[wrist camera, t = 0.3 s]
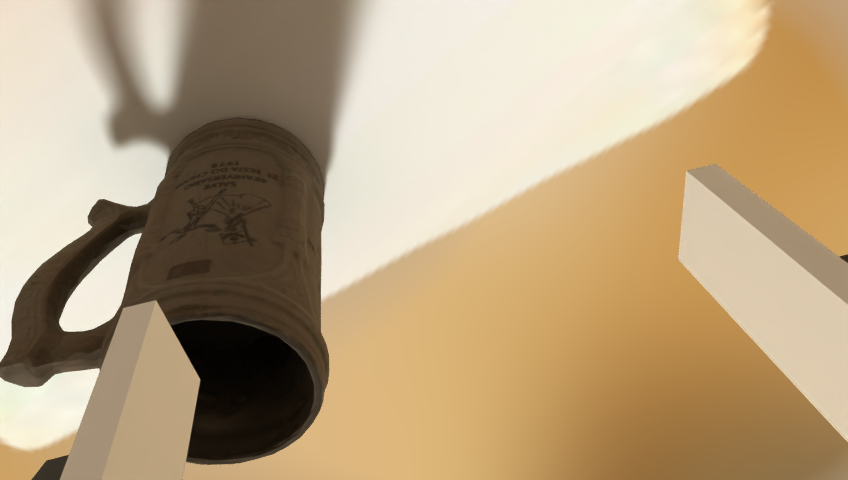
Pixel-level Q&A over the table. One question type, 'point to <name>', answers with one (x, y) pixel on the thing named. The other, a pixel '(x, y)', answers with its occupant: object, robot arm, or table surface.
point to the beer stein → (207, 287)
